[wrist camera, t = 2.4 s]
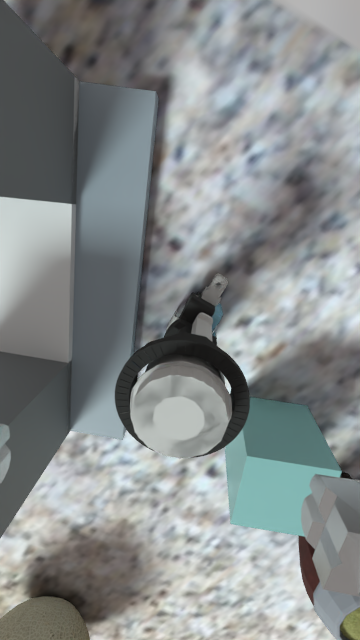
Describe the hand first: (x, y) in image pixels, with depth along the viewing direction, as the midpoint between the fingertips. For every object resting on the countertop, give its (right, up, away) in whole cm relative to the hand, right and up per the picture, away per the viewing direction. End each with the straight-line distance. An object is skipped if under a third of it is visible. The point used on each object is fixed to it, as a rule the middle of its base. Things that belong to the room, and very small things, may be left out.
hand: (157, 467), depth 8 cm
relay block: (+6, -6, +9) cm, 12 cm away
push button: (+2, +4, +12) cm, 13 cm away
